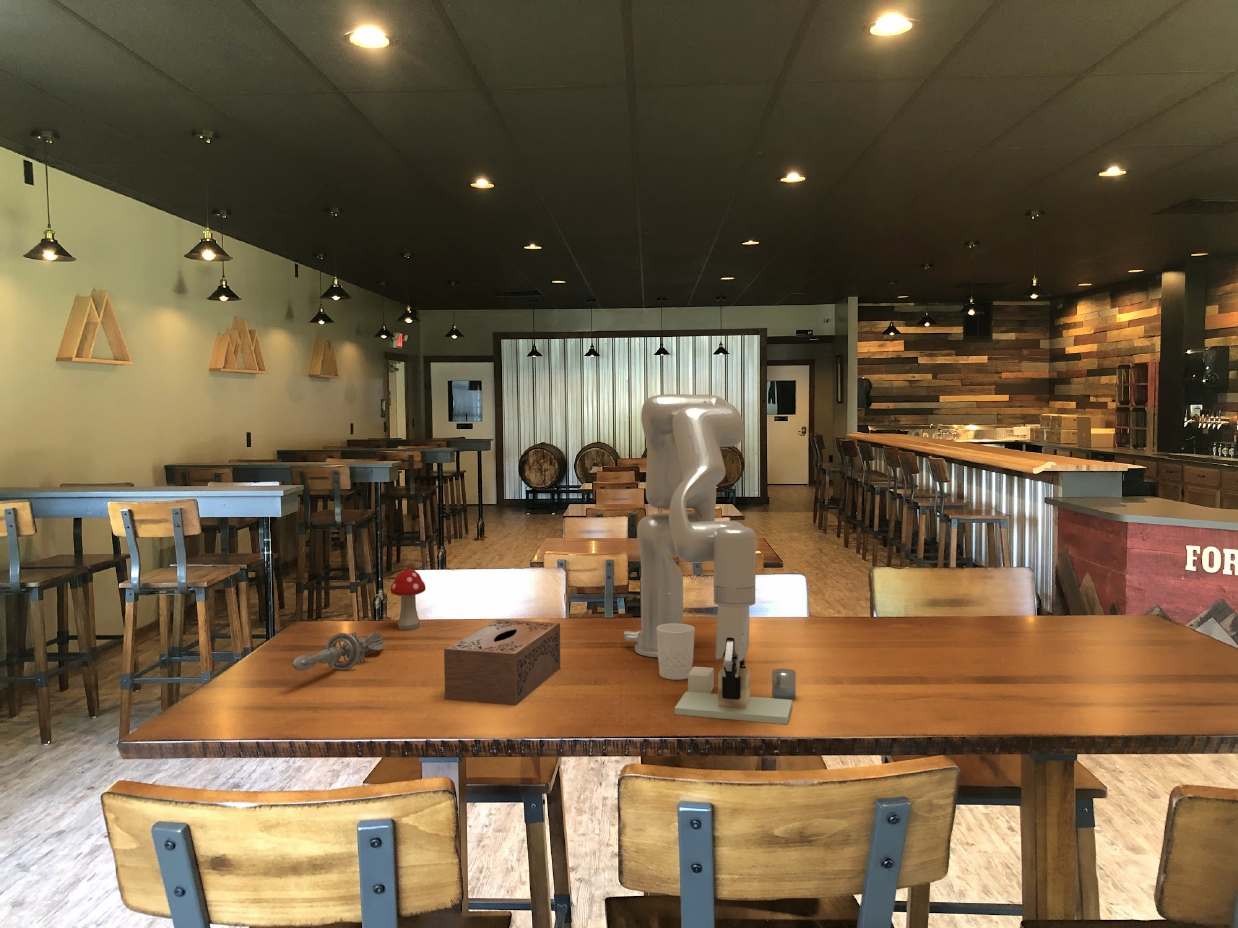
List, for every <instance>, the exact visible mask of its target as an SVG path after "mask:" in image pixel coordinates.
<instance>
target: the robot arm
mask: <svg viewBox="0 0 1238 928" xmlns="http://www.w3.org/2000/svg"><path fill="white" fill-rule="evenodd" d="M640 421H641V425H642V427H641V428H642V431H643V434H644V438H645V441H646V448H647V449H646V450H647V451H646V452H647V453H646V472H645V473H646V474H645V476H646V477H645V499H646V500H647V503H648V505H649V506H650V507H653V508H656V509H661V510H662V509H664V510H665V509H666V510H667V509H668V512H664V513H663V512H661V513H660V512H659V513H658V512H657V513H652V514H648V515H646V516H644V517H643V518H641V519H640V520H639V522H638V524H637V526H636V527H637V528H636V536H637V543H638V549H639V557H640V572H641V573H640V574H641V575H640V576H641V578H640V581H641V582H640V583H641V586H640V587H641V593H640V595H641V596H640V597H641V602H640V603H641V605H640V606H641V613H640V614H641V618H640V619H641V620H640V621H641V629H640V630H636V631H632V630H624V631H623V639H624V640H626V641H627V642H635V643H636V644H635V645H634V651H635V652H636V654H639V655H641V656H644V657H648V658H658V649H657V626H659V625H663V624H684V576H683V571H682V569H681V568H680V567H679V565H678V564H677V563H676V562H675V560H674V558H673V556H678V558H679V559H680V560H681V561H684V562H687V563H702V562H703V563H704V562H713V604H714V605H717V606H718V607H717V616H716V630H715V631H716V638H715V659H716V660H717V661H720V660H721V659H723V664H722V667H723V676H722V697H723V698H724V699H735V700H739V699H740V696H741V677H739V668H747V666H746V655H747V653H748V651H749V645H750V644H749V643H750V607H751V606H754V605H756V567H757V566H756V560H757V559H756V558H757V557H756V556H757V555H756V550H757V549H756V548H757V546H756V545H757V544H756V542H757V541H756V539H757V537H756V533H755V531H754V530H753V529H752V528H750V527H748V526H745V525H744V524H742V523H741V522H739V521H736V520H735V521H734V520H721V521H720V520H719V521H717V520H715V518H716V506H717V505H716V504H717V503H716V501H717V485H718V484H719V483H721V482H722V481H723V480H724V478H725V476H726V465H725V463H724V458H723V456H722V451H721V447H723V448H724V447H726V448H728V447H729V448H730V447H735V446H738V445H739V444H740V443H741V442H742V440H743V438H744V431H745V428H744V423H743V418H742V415H741V414H740V412H739V410H738V409H737V407H735V405H733V404H732V403H730V402H728V401H727V400H725V399H724V398H722V397H720V396H719V395H716V394H682V393H681V394H679V393H677V394H676V393H671V394H669V393H668V394H657V395H652V396H649V397H647V398H646V399H645V400H644V402H643V404H642V407H641V413H640ZM687 509H691V512H687Z"/></svg>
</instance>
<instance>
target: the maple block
mask: <svg viewBox="0 0 1238 928" xmlns="http://www.w3.org/2000/svg"><path fill="white" fill-rule="evenodd" d="M722 676H723V666H722V668H721V669H720V671H719V672H718V675H717V677H718V682H717V683H718V684H717V686H718V688H717V689H718V691H717V692H718V693H717V694H718V707H725V708H737V709H746V708H747V706H748V704H749V702H750V697H751V669H750V668H748V667H746V668H739V677H741V696H740V699H739V700H735V699H724V698H723V697H722Z"/></svg>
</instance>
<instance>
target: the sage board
mask: <svg viewBox="0 0 1238 928" xmlns="http://www.w3.org/2000/svg"><path fill="white" fill-rule="evenodd" d="M792 708H793V701H792V700H786V699H774V698H772V697H770V698H769V697H761V696H759V697H758V696H750V702H749V704H748V706H747V708H746V709H737V708H725V707H718V693H712V692H711V693H699V692H688V690H687V691H685V692H684V694H683V695H682V696H681V697H680V699H679V700H678V703H677V704H676V705H675V706H674V715H676V716H677V715H678V716H687V717H688V716H690V717H700V718H701V717H702V718H712V719H713V718H714V719H723V720H732V721H733V720H735V721H745V722H749V721H750V722H758V723H769V724H778V725H779V724H780V725H788V724H789V719H790V716H791V712H792Z"/></svg>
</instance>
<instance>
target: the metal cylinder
mask: <svg viewBox="0 0 1238 928" xmlns="http://www.w3.org/2000/svg"><path fill="white" fill-rule="evenodd" d="M771 673H772V674H771V675H772V676H771V679H772V680H771V681H772V682H771V687H772V689H771V693H772V694H771V696H772V697H771V698H774V699H786V700H792V702H793V701H795V700H796V697H797V694H796V689H797V685H796V683H797V679H796V677H797V671H795V670H793V669H791V668H774V669H773V670H772V672H771Z"/></svg>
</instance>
